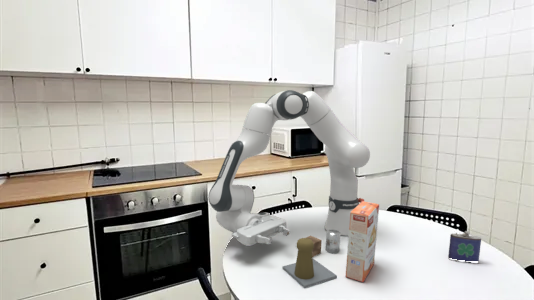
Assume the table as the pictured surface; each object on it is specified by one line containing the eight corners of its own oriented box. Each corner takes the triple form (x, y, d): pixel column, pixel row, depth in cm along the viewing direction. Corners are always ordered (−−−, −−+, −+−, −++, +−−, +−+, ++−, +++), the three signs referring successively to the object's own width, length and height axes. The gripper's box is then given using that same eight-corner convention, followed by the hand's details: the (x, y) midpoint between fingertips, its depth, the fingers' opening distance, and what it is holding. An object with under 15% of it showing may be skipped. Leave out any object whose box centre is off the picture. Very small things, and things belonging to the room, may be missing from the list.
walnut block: (310, 248, 112) (310, 235, 111) (321, 253, 109) (321, 239, 108) (301, 252, 109) (301, 239, 108) (312, 257, 105) (312, 243, 104)
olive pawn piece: (313, 280, 89) (314, 245, 88) (292, 277, 91) (293, 242, 89) (315, 270, 95) (316, 236, 93) (296, 267, 96) (296, 234, 95)
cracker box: (364, 283, 90) (369, 215, 87) (344, 277, 93) (348, 211, 90) (375, 264, 101) (380, 203, 99) (357, 259, 105) (361, 200, 102)
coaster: (312, 260, 103) (312, 258, 103) (336, 278, 92) (336, 275, 92) (282, 268, 97) (282, 266, 97) (304, 288, 87) (304, 285, 87)
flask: (477, 261, 105) (480, 231, 104) (480, 265, 102) (484, 234, 101) (447, 257, 108) (450, 228, 106) (449, 260, 105) (452, 231, 103)
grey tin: (333, 246, 114) (333, 228, 113) (342, 252, 110) (343, 233, 109) (322, 249, 112) (323, 230, 111) (331, 254, 107) (332, 235, 106)
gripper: (228, 225, 103) (258, 237, 93) (268, 211, 118) (297, 220, 109) (228, 243, 103) (258, 256, 94) (268, 226, 119) (297, 237, 110)
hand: (279, 237), depth 102 cm, fingers open, 8 cm apart
